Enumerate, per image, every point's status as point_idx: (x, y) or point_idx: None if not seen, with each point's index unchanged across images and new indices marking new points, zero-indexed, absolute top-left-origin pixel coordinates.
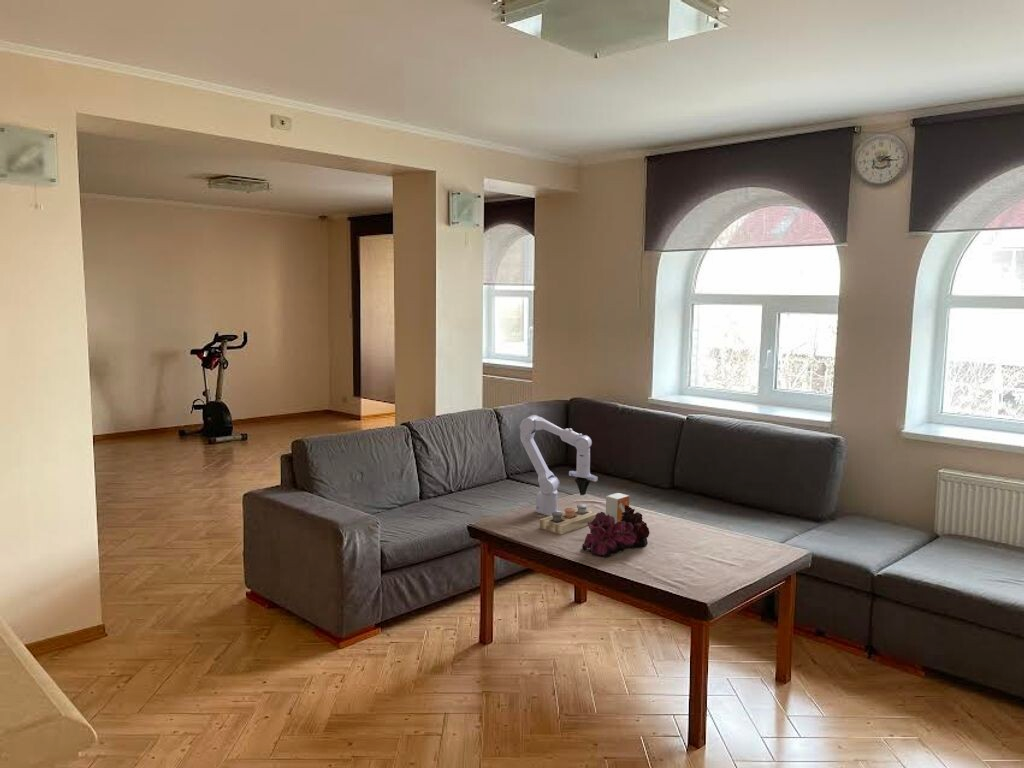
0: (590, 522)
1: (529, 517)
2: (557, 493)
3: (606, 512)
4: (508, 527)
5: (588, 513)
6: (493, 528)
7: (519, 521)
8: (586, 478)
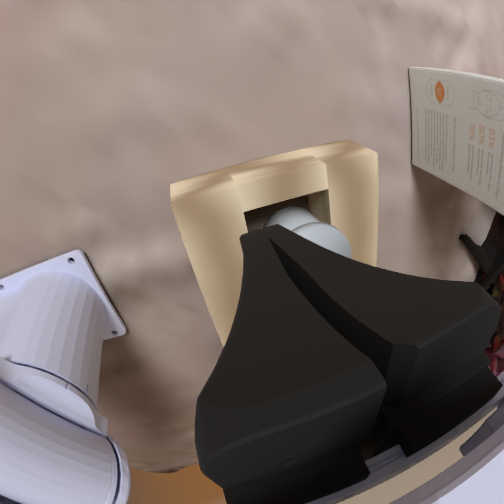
0: (499, 373)
1: (112, 389)
2: (62, 380)
3: (469, 192)
4: (194, 443)
5: (335, 211)
6: (184, 459)
7: (149, 419)
8: (467, 424)
